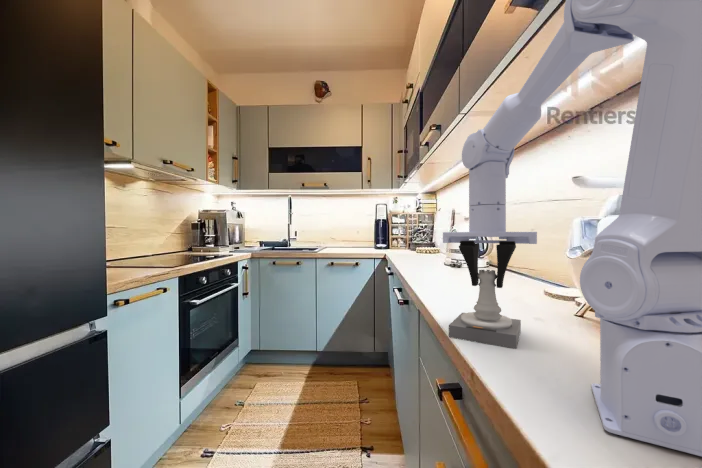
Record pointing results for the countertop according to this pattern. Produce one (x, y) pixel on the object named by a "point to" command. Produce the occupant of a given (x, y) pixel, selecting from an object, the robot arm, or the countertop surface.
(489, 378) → the countertop surface
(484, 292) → the rook chess piece
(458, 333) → the kitchen scale
